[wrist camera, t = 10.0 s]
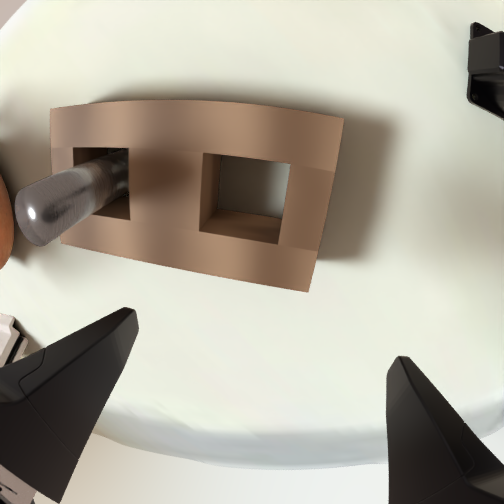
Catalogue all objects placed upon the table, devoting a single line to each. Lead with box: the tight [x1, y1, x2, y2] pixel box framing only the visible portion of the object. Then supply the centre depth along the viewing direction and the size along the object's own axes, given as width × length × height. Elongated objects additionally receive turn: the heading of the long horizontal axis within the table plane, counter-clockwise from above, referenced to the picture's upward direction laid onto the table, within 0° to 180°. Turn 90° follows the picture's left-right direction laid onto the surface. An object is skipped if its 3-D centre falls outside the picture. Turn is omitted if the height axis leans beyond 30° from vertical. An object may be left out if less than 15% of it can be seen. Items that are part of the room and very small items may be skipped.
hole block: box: [50, 100, 344, 292], centre depth 18 cm, size 18×10×4 cm, turn 84°
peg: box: [15, 148, 129, 246], centre depth 15 cm, size 3×3×10 cm
